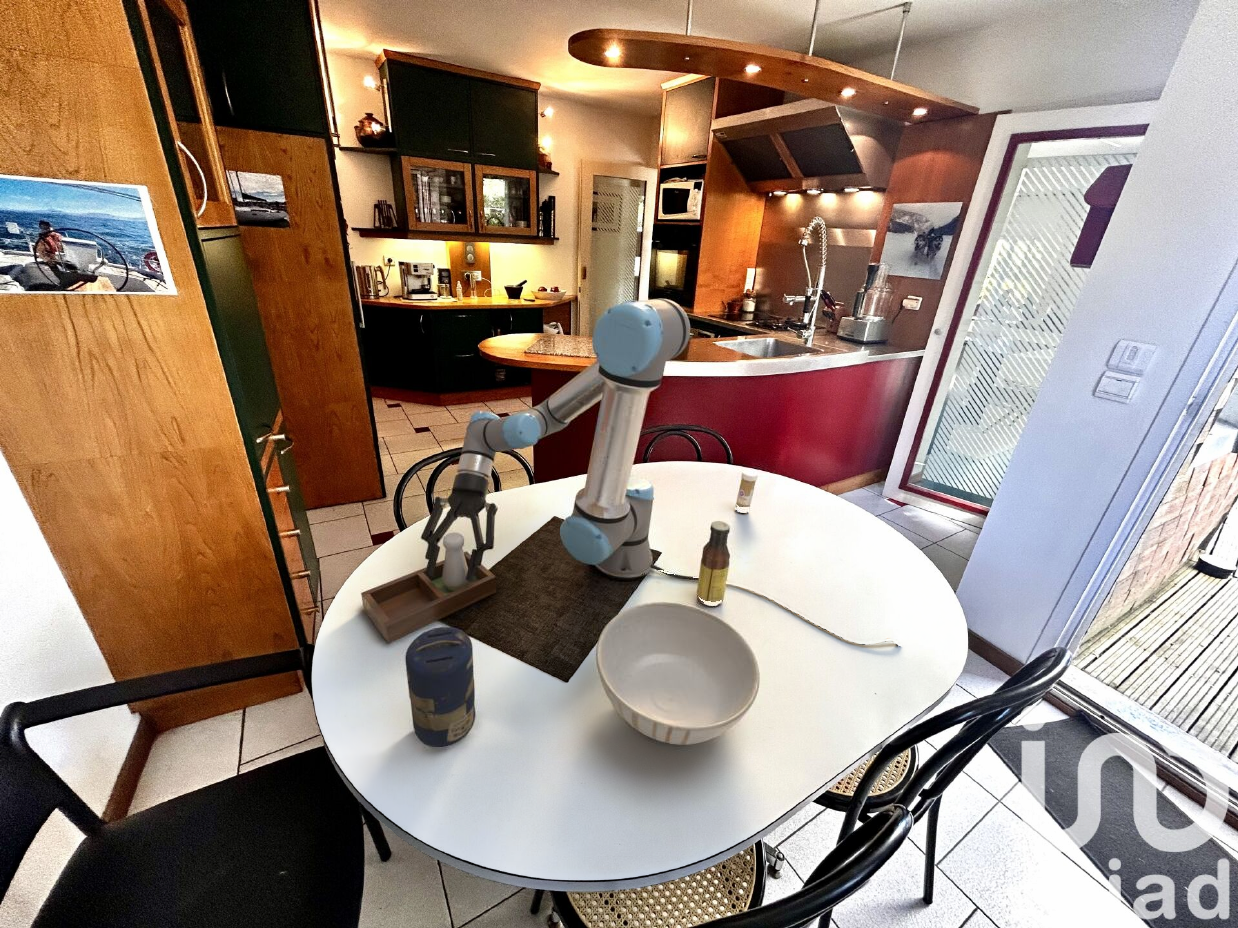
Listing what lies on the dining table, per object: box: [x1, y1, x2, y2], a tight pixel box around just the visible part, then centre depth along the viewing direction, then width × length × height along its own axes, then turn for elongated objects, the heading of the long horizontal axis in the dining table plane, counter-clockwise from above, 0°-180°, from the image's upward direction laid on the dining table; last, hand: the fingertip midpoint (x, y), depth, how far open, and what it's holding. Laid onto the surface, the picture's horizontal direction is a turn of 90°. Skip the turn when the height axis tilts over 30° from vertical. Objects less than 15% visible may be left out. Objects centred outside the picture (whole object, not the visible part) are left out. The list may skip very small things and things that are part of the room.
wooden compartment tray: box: [360, 550, 497, 644], centre depth 104 cm, size 12×24×4 cm, turn 135°
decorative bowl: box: [595, 601, 761, 746], centre depth 83 cm, size 27×27×12 cm
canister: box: [404, 626, 477, 749], centre depth 76 cm, size 10×10×18 cm
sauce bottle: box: [696, 520, 731, 604], centre depth 109 cm, size 7×6×20 cm
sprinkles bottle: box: [735, 469, 758, 508], centre depth 150 cm, size 5×5×14 cm
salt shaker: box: [442, 532, 468, 591], centre depth 106 cm, size 6×6×13 cm
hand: (448, 578), depth 104 cm, fingers open, 8 cm apart
